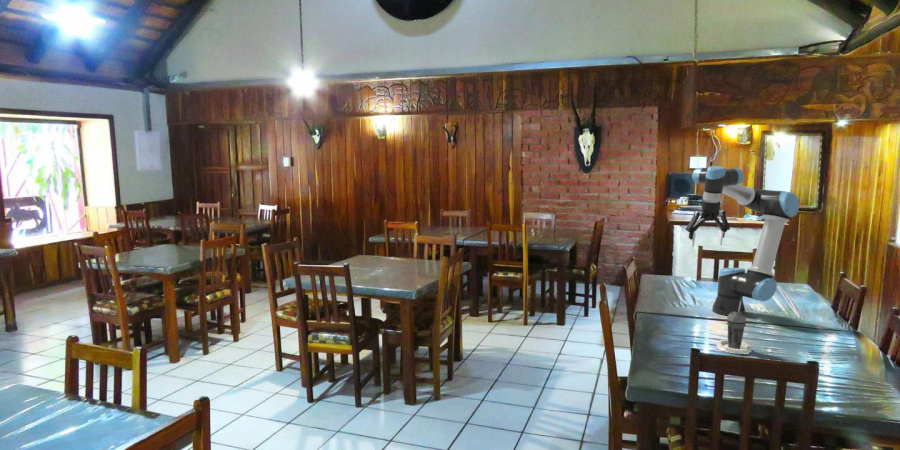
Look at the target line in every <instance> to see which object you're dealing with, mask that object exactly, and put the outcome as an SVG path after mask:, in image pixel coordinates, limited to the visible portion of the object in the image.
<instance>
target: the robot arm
mask: <svg viewBox="0 0 900 450" xmlns="http://www.w3.org/2000/svg"><path fill="white" fill-rule="evenodd" d="M691 177H692V180H693V182H694V183H695V184H699V185H704V189H703V193H702V202H701V203H702V204H701V211H697V210H695V211H694V213H693V216H692V217H691V219H690V221H689V223H688V224H687V225H686V227H685V231H686V232H688V233H689V234H688V239H689V242H688V244H689V246H690V247H692V248H693V247H695V241H696V240H695V239H696V231H697V230H698V228H700V227H701V226H702V224H703V223H705V222H710V221H711V222H714V223H715V224H716V225H717V226H718V228H719V230H718V233H717V238H716V244H717V245H719V246H722V245H723V238H725V236H726V234H725V233H727V232H728V231H729V230H730V229H731V228H730V225H729V223H728V219H727V216H726V210H723V209H721V200H722V195H725V196H727V197H730V198H731V199H734V200H735V201H736V202H737V203H738V205H741V206H743V207H745V208H747V209H749V210H751V211H753V212H756V213H761V214H762V218H763V219H764V223H763V225H762V230H761V232H760V236H759V239H758V243H757V247H756V250H755V254H754V258H753V262H752V265H751V267H749V268H747V271H746V268H743V267H723V268H720V270H719V272H718V273H719V274H718V276H717V277H718V281H717V282H718V283H717V295H716V298H715V300H714V301H713V305H712V309H711V310H712V312H713V313H716V314H719V315H721V316H725V317H726V316H727V317H728V315H729V314H730V313H731V312H733V311H738V310H739V305H740V301H742V302H741V307H740V312H741V313H743V314H744V316H745V315H746V307H745V303H744V299H743V298H744V297H745V298H748V299H752V300H755V301H760V302H767V301H769V300H770V299H772V297H773V296H775V293H776V292H777V288H778V285H777V281H776V280H775V279H774V277H775V275H774V273H773V267H774V265H775V260H776V256H777V252H778V249H779V245H780V242H781V239H782V236H783V235H782V234H783V231H784V228H785V225H786V224H787V223H788V222H790V221H791V218H792V217H795V216H796V215H797V214H798V212H799V210H800V209H799V208H800V201H799V199H798V197H797V195H796V194H795V193H794V192H790V191H785V190H770V189H759V188H753V187H751V186H745V185H743V184H742V183H743V181H744V179H745V175H744V171H742V170H741V168H736V167H735V168H733V167H732V168H725V167H724V166H719V165H711V166H708V167H697V168H695V169H694V170H693V171H692V176H691ZM718 217H720V219H721V221H720V219H719V218H718Z"/></svg>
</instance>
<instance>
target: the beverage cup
mask: <svg viewBox="0 0 900 450" xmlns="http://www.w3.org/2000/svg"><path fill="white" fill-rule="evenodd" d="M741 302H742V301H740V305H739V310H738V311H733V312H731V313H730V314H729V315H728V316H727V319H726V324H727V340H728V347H729V348H733V349H740V347H741V342H743V337H744V333H745V331H744V330H745V327H746V324H747V320H746V316H745V315H744V314H743V313H741V312H740V307H741Z"/></svg>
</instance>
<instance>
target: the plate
mask: <svg viewBox="0 0 900 450" xmlns="http://www.w3.org/2000/svg"><path fill="white" fill-rule="evenodd" d="M717 348H718V350H719V349H720V350H723V351H726V352H730V353H747V352H748V353H749V352H751V353H752V352H753V351H752V346H751V345H750V344H749V343H746V342H744V341H742V342H741V347H740V349H733V348H729V347H728V339H720V340H718V341H717V343H716V349H717ZM720 350H719V351H720ZM723 351H722V352H723ZM726 352H725V353H726Z"/></svg>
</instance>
